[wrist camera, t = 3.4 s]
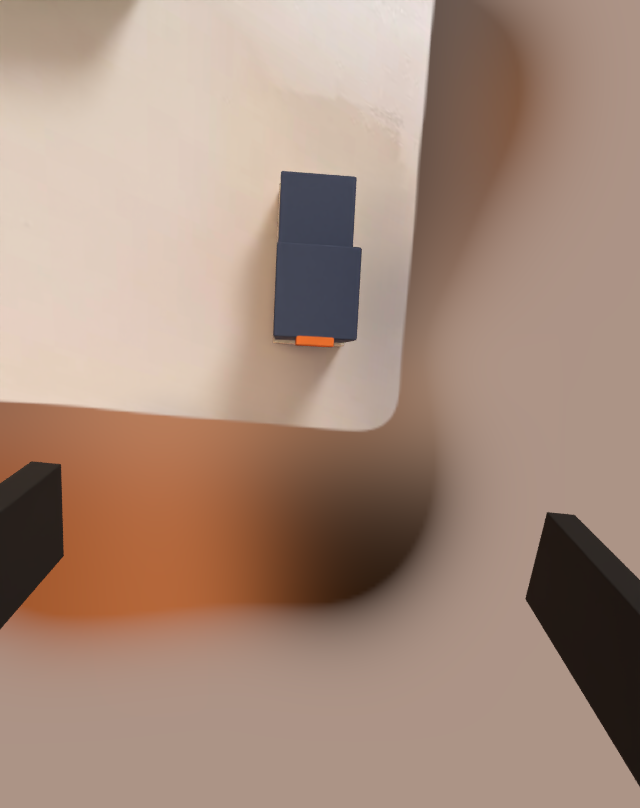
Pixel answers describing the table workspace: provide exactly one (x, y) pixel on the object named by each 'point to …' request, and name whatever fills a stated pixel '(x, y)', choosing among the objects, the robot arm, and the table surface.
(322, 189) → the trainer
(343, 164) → the table surface
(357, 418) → the table surface
